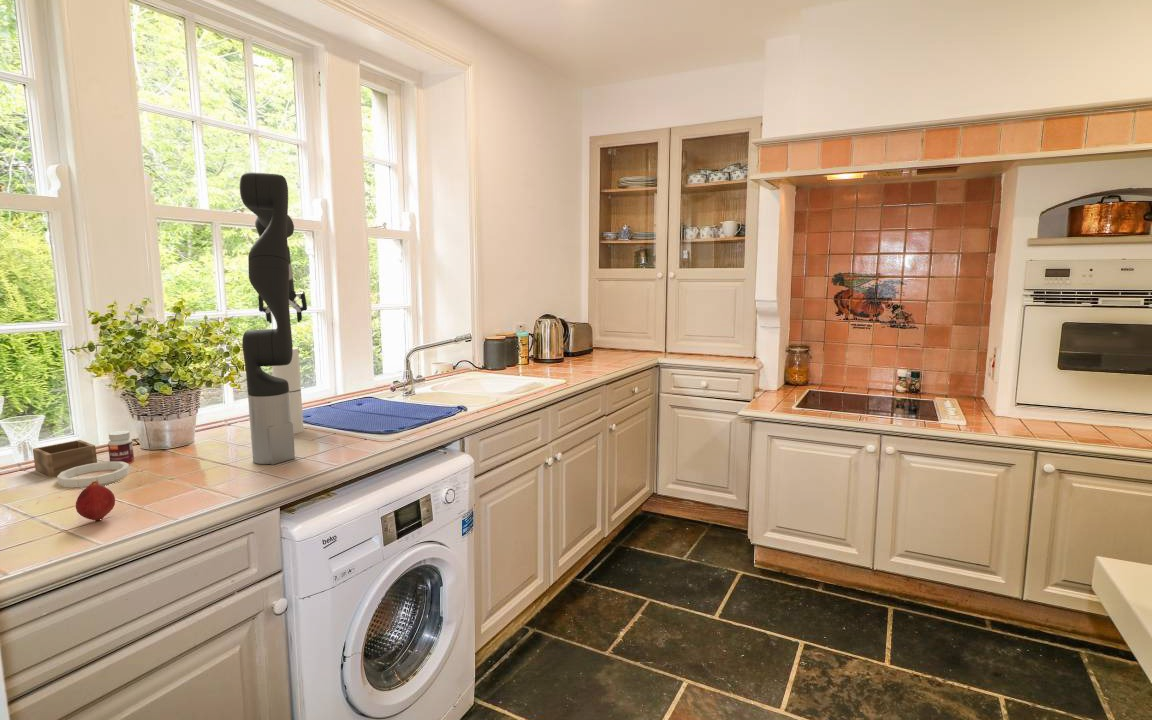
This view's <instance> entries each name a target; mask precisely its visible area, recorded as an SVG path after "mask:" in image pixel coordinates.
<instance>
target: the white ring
mask: <svg viewBox="0 0 1152 720" xmlns="http://www.w3.org/2000/svg"><path fill="white" fill-rule="evenodd" d="M107 470H108V471H109V470H111V471H112V470H113V471H112V472H108V473H102V474H100V475H96V476H95V475H93V476H88V477H87V476H85V477H77V476H80V475H83V474H86V473H87V474H88V473H92V472H99V471H107ZM130 472H131V470H130V464H128V463H125V462H122V461H110V460H109V461H100V462H97V463H91V464H86V465H82V466H77V467H73V468H71V469H68V470H65V471H63V472H61V473H60V474H59V475H58V476H56V480H57V485H59V486H61V487H63V488H83V487H85V488H86V487H88V486H89V485H90V484H91V483H92V482H93V481H96V480H97V481H98V482H99V483H98V484H99V485H101V486H104V487H106V486H105V485H108V486H110V485H109V484H112V483H115V482H118V481H120V480H121V479H122V478H125V477H128V475H129V473H130ZM118 483H119V482H118ZM115 484H116V483H115ZM112 485H113V484H112Z"/></svg>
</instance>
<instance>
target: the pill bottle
mask: <svg viewBox="0 0 1152 720" xmlns="http://www.w3.org/2000/svg"><path fill="white" fill-rule="evenodd" d="M130 433H131V432H130V431H129V430H118V431H117V430H116V431H113V432H110V433H108V439H109V441H108V443H107V446H108V447H107V448H108V454H109V455H108V456H109V461H122V462H125V463H128V464H129V465H130V464H132V463H134V462H135V456H134V448H133V447H134V446H133V440H132V438H130V437H131V435H130Z"/></svg>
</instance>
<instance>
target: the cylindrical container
mask: <svg viewBox="0 0 1152 720" xmlns="http://www.w3.org/2000/svg"><path fill="white" fill-rule="evenodd" d="M292 347H293V354H292V360H291V362H290V364H288V365H283V366H271V368H272V376H274V377H278V378H282V379H285V380H286V381H287V382H288V385H289V400H290V415H291V422H292V423H293V435H295V434H299V433H301V432H304V419H303V417H304V416H303V415H304V414H303V403H302V400H303V399H302V387H301V386H302V385H301V369H300V357H299V353H300V352H299V347H295V346H292Z"/></svg>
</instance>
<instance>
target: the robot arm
mask: <svg viewBox="0 0 1152 720" xmlns="http://www.w3.org/2000/svg"><path fill="white" fill-rule="evenodd" d="M239 194H240V199H241V201H242V204H243V205H244V206H245V208H247V209H248V210H250V212H252V213H253V214H254V215H256V216H257V217H256V218H255V222H254V223H255V224H254V226H255V229H256V231H257V234H258V236H259V237H258V238H257V240H256V241H255V242H254V243H253V245H252V246H251V248H250V250H249V252H248V257H247V258H248V280H249V282H250V284H251V286H252V287H253V289H254V290H255V292H256V293H257V294H258V296H257V297H258V311H259V312H261V313H262V312H263V313H265V318H266V319H265V320H266V322H268V324H272V322H273V318H272V316H273V317H274V320H275V322H276V328H274V329H273V328H269V329H265V328H264V329H248V330H246V331H244V332H243V336H242V341H241V342H242V344H241V345H242V346H241V347H242V352H243V353H242V355H243V361H244V367H245V374H246V375H245V376H246V385H247V400H248V413H249V414H248V415H249V424H250V425H249V426H250V427H249V429H250V439H251V452H252V453H251V454H252V462H253V463H255V464H259V465H268V464H269V465H276V464H280V463H283V462H286V461H289V460H293V459H296V451H295V440H294V439H295V438H294V437H295V436H294V435H295V434H293V423H292V422H291V415H290V400H289V385H288V382H287V381H286V380H285V379H282V378H278V377H274V376H273V375H271V374H269V373H267V372H266V371H264V370H263V369H262V367H272V366H283V365H288V364H290V362H291V360H292V354H293V347H294V346H293V337H292V336H293V335H292V325H291V315H290V306H291V307H292V308H293V309H294V310H296V318H297V321H296V322H297V323H301V321H302V320H303V317H302V316H303V314H302V313H303V311H307V310H308V305H307V299H306V292H305V291H301V292H296V291H295V285H294V272H293V266H292V260H291V254H290V253H291V252H290V247H289V245H288V238H290V237H291V236H292V235H293V233H294V231H295V225H294V221H293V219H292V217H291V216H290V215H288V212H289V210H288V209H289V186H288V182H287V179H286V177H285V176H283V175H282V174H279V173H278V174H277V173H268V172H267V173H266V172H245V173H243V174H242V175H241V176H240V178H239ZM296 298H298V299H299V300H301V304H302V305H299V303H298V302H297V301H296V300H295V299H296ZM264 303H265V304H266V306H264Z"/></svg>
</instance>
